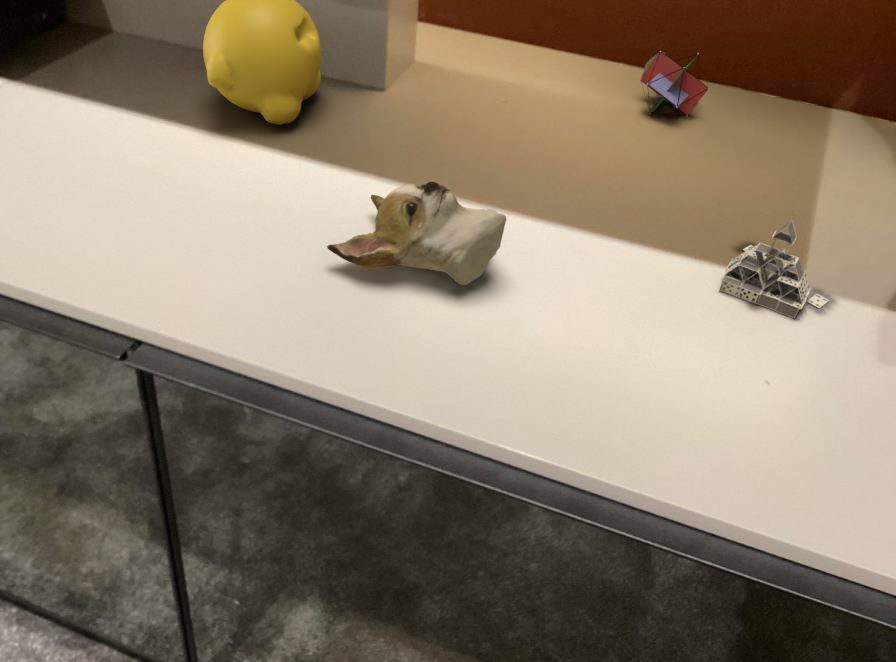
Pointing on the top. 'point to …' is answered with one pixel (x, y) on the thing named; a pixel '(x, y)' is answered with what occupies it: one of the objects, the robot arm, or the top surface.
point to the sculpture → (263, 56)
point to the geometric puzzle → (673, 83)
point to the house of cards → (771, 277)
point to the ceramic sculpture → (427, 234)
